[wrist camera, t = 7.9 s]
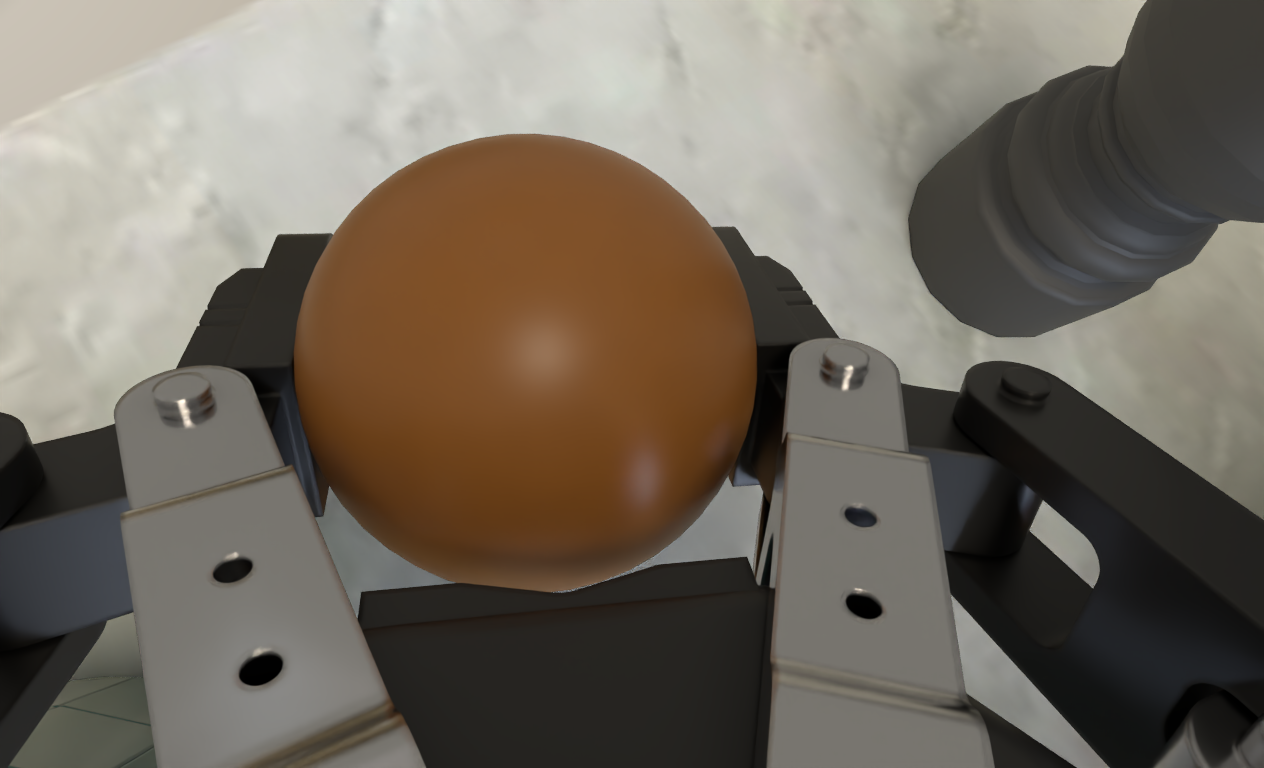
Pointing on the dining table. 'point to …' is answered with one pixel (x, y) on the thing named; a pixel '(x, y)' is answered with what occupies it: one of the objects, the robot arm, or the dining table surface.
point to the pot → (93, 728)
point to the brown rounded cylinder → (525, 363)
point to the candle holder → (1101, 175)
